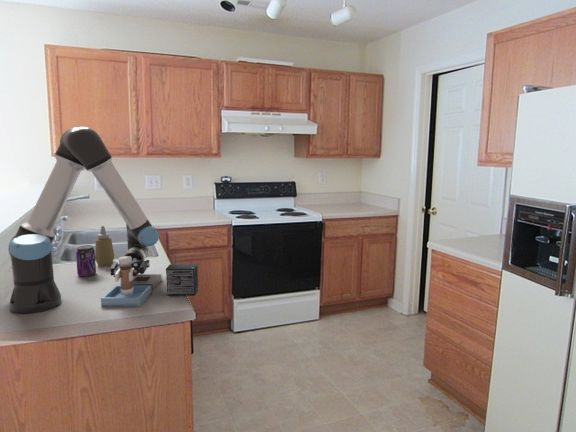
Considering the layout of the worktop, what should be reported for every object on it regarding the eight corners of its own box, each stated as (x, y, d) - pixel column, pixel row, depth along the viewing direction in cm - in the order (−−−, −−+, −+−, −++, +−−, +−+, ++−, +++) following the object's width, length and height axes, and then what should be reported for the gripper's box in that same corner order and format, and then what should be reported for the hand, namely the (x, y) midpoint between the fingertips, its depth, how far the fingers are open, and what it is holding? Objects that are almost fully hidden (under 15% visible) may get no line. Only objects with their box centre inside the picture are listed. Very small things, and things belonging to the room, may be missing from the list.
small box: (198, 290, 160) (198, 263, 159) (195, 296, 154) (194, 268, 152) (170, 290, 160) (169, 263, 158) (166, 296, 154) (165, 268, 152)
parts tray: (101, 306, 143) (100, 298, 143) (115, 293, 156) (115, 285, 155) (140, 306, 143) (139, 298, 143) (151, 293, 156) (151, 285, 156)
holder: (120, 290, 159) (120, 284, 159) (131, 280, 171) (131, 274, 171) (152, 290, 160) (152, 284, 159) (161, 280, 171) (161, 274, 171)
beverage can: (87, 278, 173) (85, 249, 171) (73, 276, 175) (71, 248, 173) (100, 273, 180) (98, 245, 178) (86, 271, 182) (84, 244, 180)
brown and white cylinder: (119, 295, 147) (116, 259, 145) (123, 291, 151) (121, 256, 149) (131, 295, 147) (129, 259, 145) (135, 291, 151) (133, 256, 149)
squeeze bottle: (91, 266, 189) (88, 227, 186) (104, 262, 197) (102, 224, 194) (106, 268, 186) (103, 228, 183) (118, 263, 194) (116, 225, 191)
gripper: (156, 267, 168) (149, 286, 145) (111, 269, 164) (97, 289, 142) (156, 249, 166) (148, 265, 144) (110, 250, 163) (95, 268, 141)
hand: (123, 277), depth 143 cm, fingers closed on brown and white cylinder, 4 cm apart
